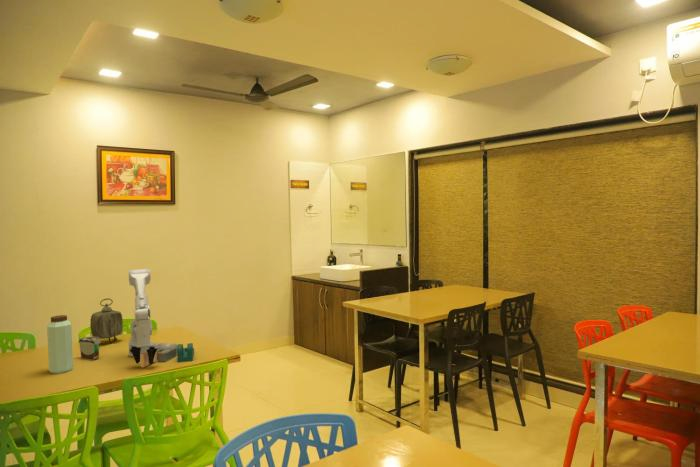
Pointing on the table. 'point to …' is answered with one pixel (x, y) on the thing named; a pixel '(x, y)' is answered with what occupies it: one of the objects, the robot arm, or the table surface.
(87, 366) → the table surface
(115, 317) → the tabletop clock
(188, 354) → the bracket
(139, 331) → the robot arm
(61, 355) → the water bottle
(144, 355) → the orange wooden slat
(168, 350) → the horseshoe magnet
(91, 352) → the food container
